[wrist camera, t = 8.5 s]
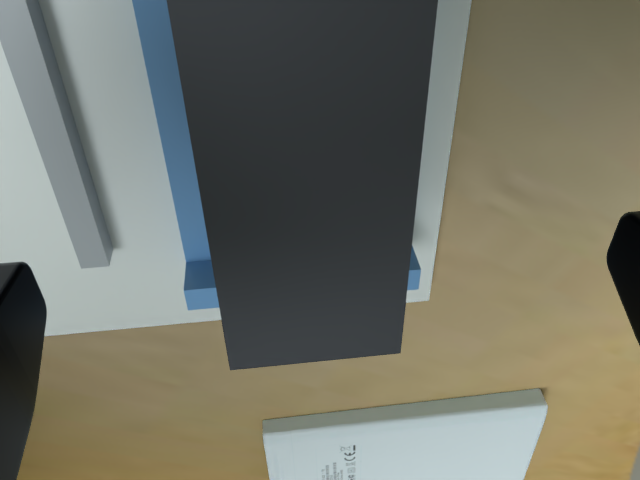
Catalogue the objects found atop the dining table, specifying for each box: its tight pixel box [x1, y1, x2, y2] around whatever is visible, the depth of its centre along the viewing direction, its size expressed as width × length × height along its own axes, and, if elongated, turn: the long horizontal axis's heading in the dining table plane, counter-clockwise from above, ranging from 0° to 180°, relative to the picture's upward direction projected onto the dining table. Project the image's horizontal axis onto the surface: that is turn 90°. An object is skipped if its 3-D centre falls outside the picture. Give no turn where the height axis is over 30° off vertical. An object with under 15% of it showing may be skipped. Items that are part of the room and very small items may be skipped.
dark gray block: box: [167, 0, 438, 370], centre depth 13 cm, size 10×4×6 cm, turn 1°
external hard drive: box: [263, 388, 548, 480], centre depth 29 cm, size 2×8×12 cm
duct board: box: [0, 0, 472, 336], centre depth 14 cm, size 18×18×3 cm
